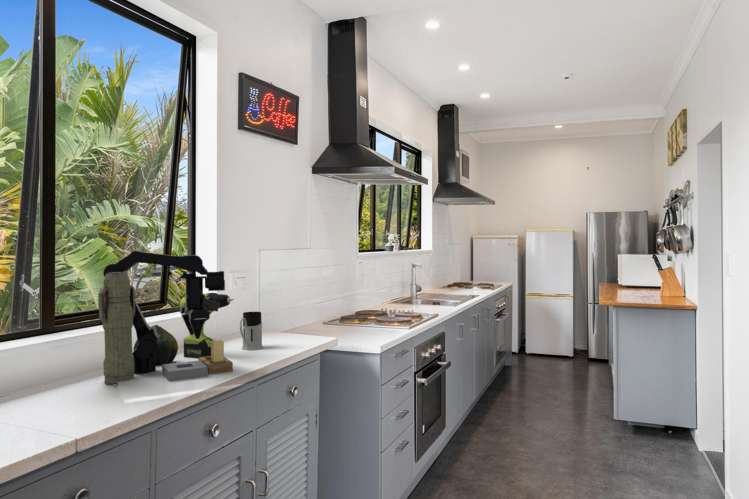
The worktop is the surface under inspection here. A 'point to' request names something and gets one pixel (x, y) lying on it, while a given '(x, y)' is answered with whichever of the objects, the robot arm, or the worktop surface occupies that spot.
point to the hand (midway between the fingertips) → (194, 336)
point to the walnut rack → (217, 365)
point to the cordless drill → (203, 344)
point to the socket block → (184, 370)
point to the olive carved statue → (117, 326)
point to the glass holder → (251, 331)
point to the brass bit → (217, 351)
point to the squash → (164, 347)
